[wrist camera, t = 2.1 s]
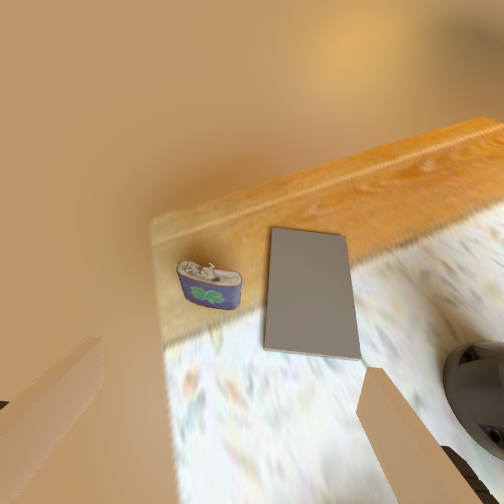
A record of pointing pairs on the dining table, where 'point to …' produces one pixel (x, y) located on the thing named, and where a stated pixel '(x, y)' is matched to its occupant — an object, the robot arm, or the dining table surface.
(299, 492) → the dining table surface
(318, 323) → the slate board
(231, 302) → the flask
